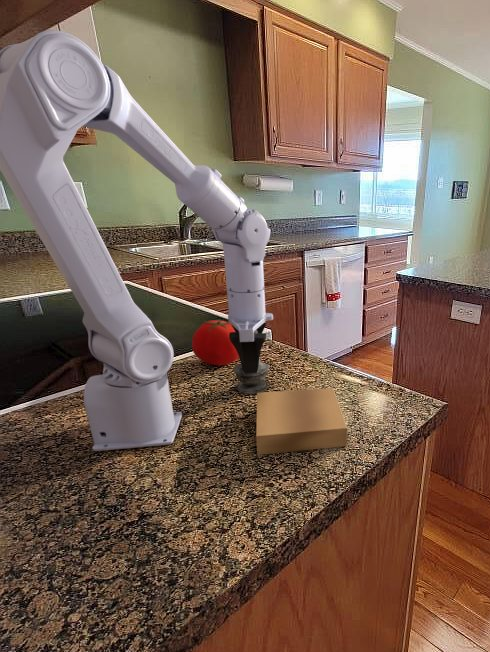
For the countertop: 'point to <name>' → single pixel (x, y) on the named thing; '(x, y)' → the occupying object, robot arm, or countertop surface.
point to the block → (299, 421)
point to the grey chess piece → (252, 378)
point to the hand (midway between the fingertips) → (251, 366)
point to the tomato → (214, 343)
